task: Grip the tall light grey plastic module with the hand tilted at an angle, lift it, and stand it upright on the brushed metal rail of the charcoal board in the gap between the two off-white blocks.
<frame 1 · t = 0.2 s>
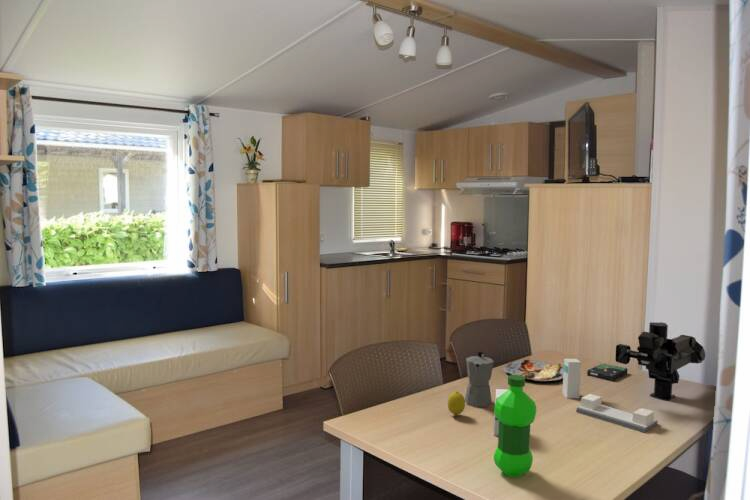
hand: (632, 363, 190), 17 cm above the table, tool horizontal, fingers open, 9 cm apart
food plate: (535, 375, 232), on the table
ink box: (502, 431, 175), on the table
lemon: (455, 416, 186), on the table
plastic bottle: (512, 472, 149), on the table
disk drive: (607, 376, 233), on the table
coffeepot: (478, 402, 199), on the table
module: (570, 396, 207), on the table
rail board: (615, 417, 187), on the table
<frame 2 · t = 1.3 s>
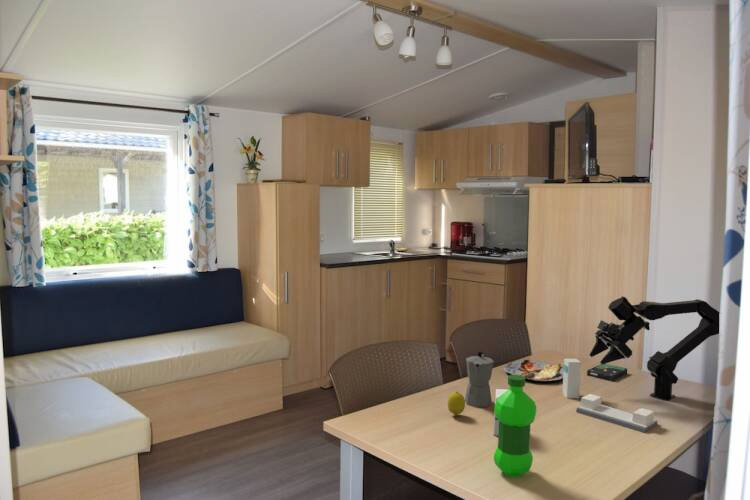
hand: (595, 359, 206), 13 cm above the table, tool tilted 45°, fingers open, 9 cm apart
nothing on the table moved.
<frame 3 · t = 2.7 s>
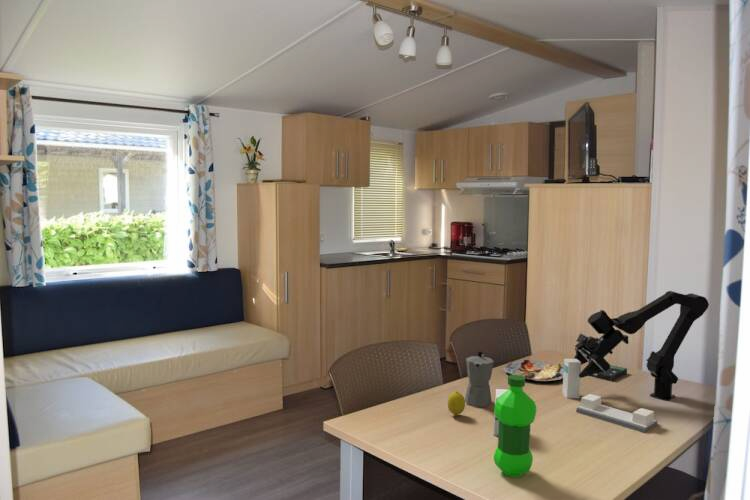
hand: (574, 372, 206), 8 cm above the table, tool tilted 45°, fingers open, 9 cm apart
nothing on the table moved.
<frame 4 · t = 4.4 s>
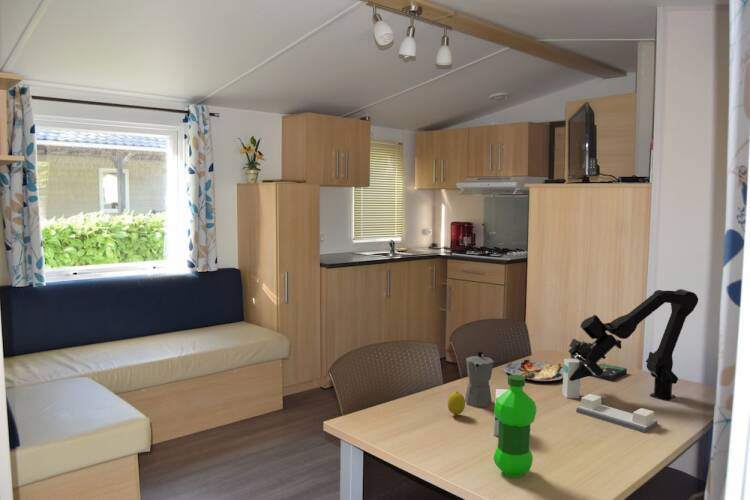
hand: (567, 377, 206), 7 cm above the table, tool tilted 45°, fingers closed on module, 4 cm apart
module: (570, 396, 207), on the table, touching gripper
everything else where it was.
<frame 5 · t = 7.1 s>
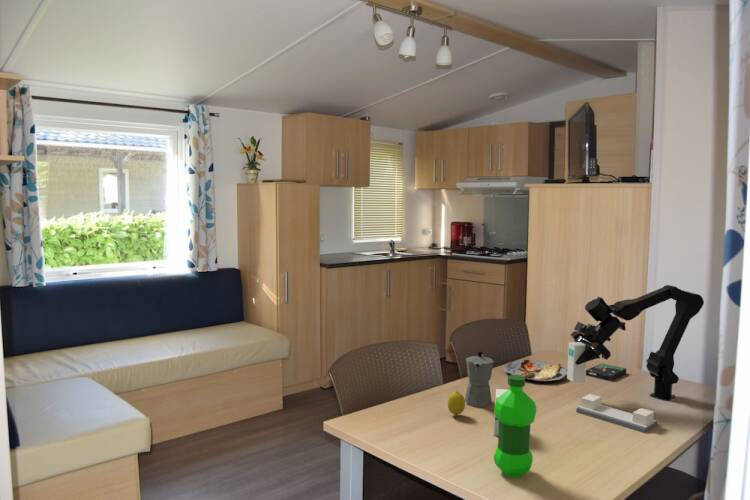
hand: (573, 361, 202), 14 cm above the table, tool tilted 45°, fingers closed on module, 4 cm apart
module: (575, 380, 203), point 7 cm above the table, touching gripper
everything else where it was.
when the fingers open (9 cm above the table, at t = 9.9 s): module drops 1 cm, resting on rail board.
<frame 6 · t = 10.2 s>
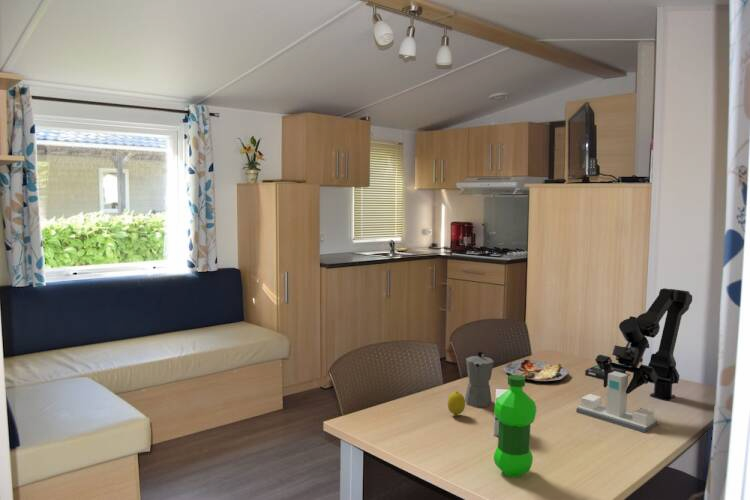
hand: (615, 390, 185), 10 cm above the table, tool tilted 45°, fingers open, 7 cm apart
module: (616, 413, 187), point 2 cm above the table, touching rail board
everything else where it was.
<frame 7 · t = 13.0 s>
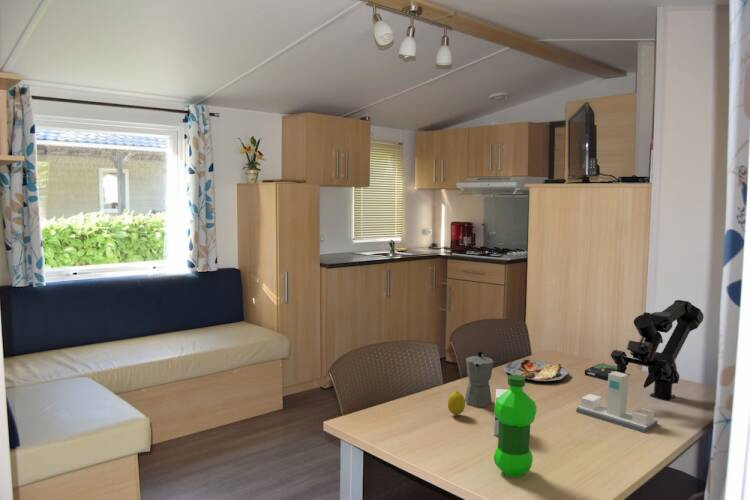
hand: (630, 383, 191), 10 cm above the table, tool tilted 45°, fingers open, 9 cm apart
nothing on the table moved.
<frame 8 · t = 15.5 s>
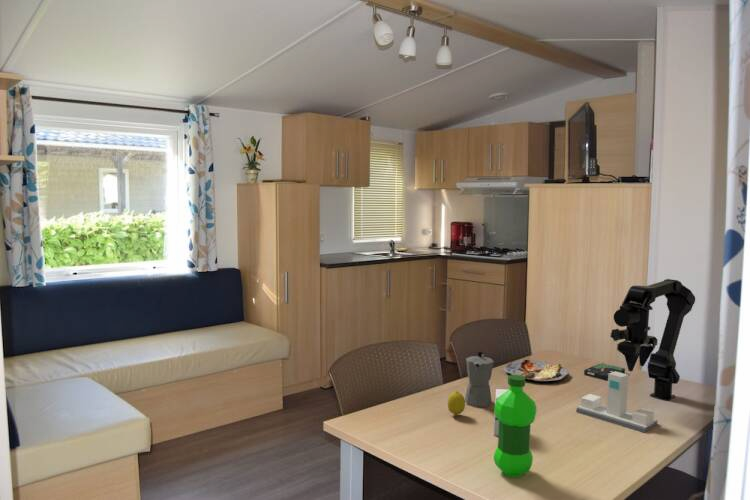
hand: (636, 368, 197), 13 cm above the table, tool pointing down, fingers open, 9 cm apart
at the end: module inside the target area on the rail board (0.1 cm from its centre), point 1.5 cm above the rail board's base; module tilted 0°; the gripper is holding nothing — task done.
